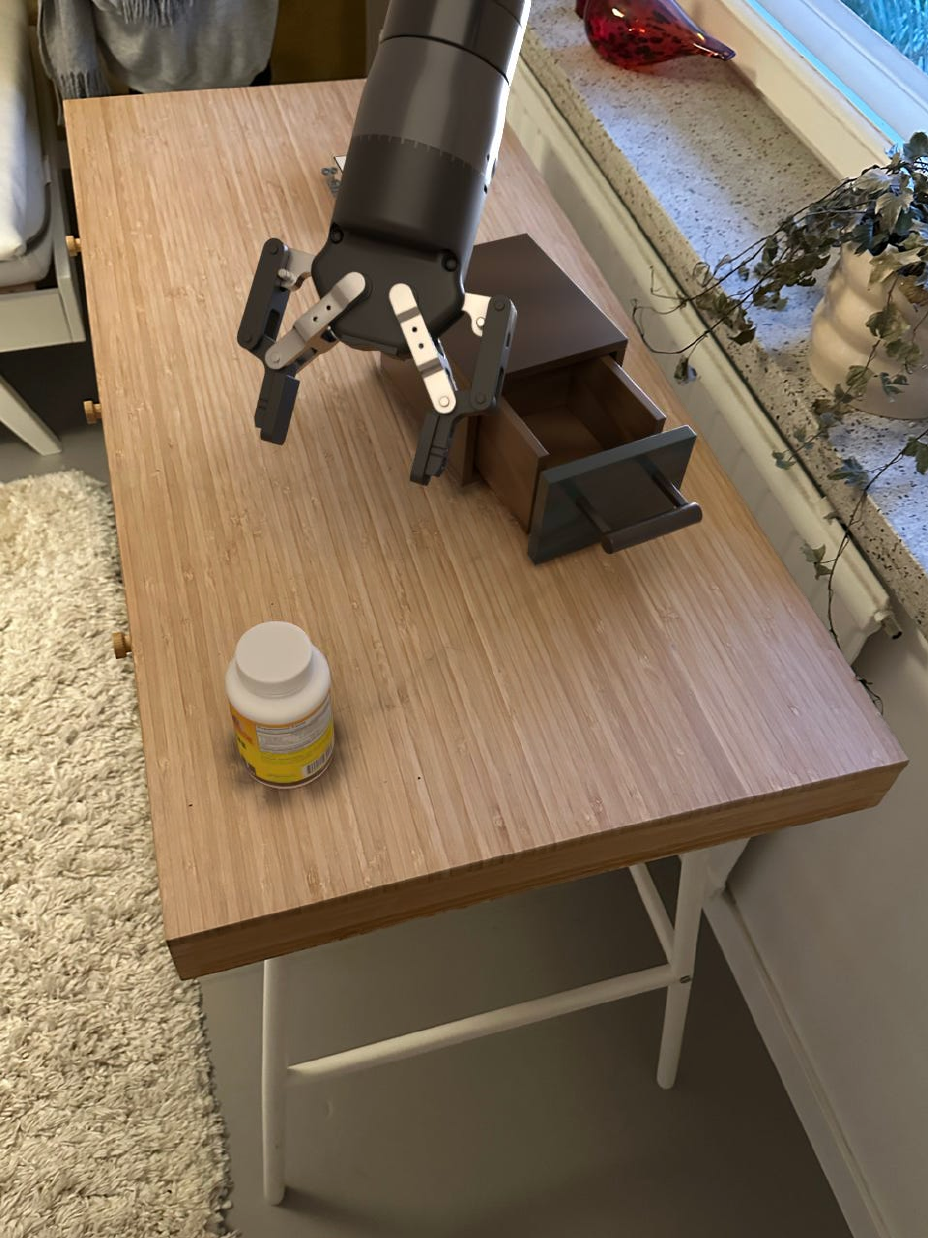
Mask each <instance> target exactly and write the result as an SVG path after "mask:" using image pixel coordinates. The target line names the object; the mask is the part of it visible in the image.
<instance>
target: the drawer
mask: <svg viewBox="0 0 928 1238" xmlns="http://www.w3.org/2000/svg"><path fill="white" fill-rule="evenodd" d="M666 421H667V415H665V414H664V413H663V412H662V411H661V410H660V408H658V407H657V405H656V404H655V403H654V402H653V401H652V399H650V398H649V397H648V396H647V394H646V393H645V392H643V390H642V389H641V388H640V387H639V386H638V385H637V384H636V382H634V380H633V379H632V378H631V377H630V376H629V375H628V374H627V373H626V372H625V370H623V368H622V369H621V368H620V367H619V365H618V364H617V363H616V362H615V361H614V360H613V359H612V358H611V357H610V356H609V355H608V354H604V355H601V356H597V357H594V358H590V359H587V360H583V361H580V362H576V363H572V364H569V365H565V366H562V367H558V368H555V369H551V370H548V371H544V372H541V373H537V374H534V375H530V376H527V377H523V378H520V379H516V380H513V381H509V382H506V383H503V386H502V391H501V396H500V401H499V406H498V409H497V411H496V412H495V413H494V414H492V415H490V416H485V415H478V416H477V427H476V437H475V448H474V458H473V463H474V464H475V466H476V467H477V468H478V470H479V471H480V473H481V474H482V475H483V477H484V478H485V479H486V480H485V481H486V483H487V484H488V485H489V486H490V488H491V489H492V491H493V492H494V493H495V495H496V496H497V497H498V498H499V500H500V501H501V503H502V504H503V506H504V507H505V508H506V509H507V511H508V512H509V514H510V515H511V516H512V518H513V519H514V521H515V522H516V523H517V525H518V526H519V527H520V529H521V530H522V532H523V533H524V534H525V536H528V535H529V537H528V544H527V548H526V549H527V550H526V555H527V557H528V559H529V560H530V561H531V562H532V564H533V565H534V566H539V565H541V564H543V563H544V564H545V563H546V562H550V561H552V560H555V559H558V558H561V557H564V556H566V555H569V554H573V553H574V552H577V551H580V550H583V549H586V548H589V547H592V546H594V545H598V544H600V545H601V548H602V550H603V552H605V554H607V555H610V556H611V555H613V554H617V553H619V552H622V551H624V550H627V549H630V548H633V547H635V546H638V545H641V544H644V543H646V542H649V541H652V540H655V539H657V538H661V537H663V536H666V535H669V534H671V533H674V532H677V531H680V530H682V529H685V528H688V527H691V526H694V525H696V524H699V523H701V522H702V520H703V516H704V515H703V510H702V507H701V506H700V505H699V503H697V502H695V501H691V502H688V501H687V499H686V498H685V497H684V496H683V495H682V494H681V493H680V491H681V487H682V486H683V481H684V478H685V475H686V472H687V469H688V466H689V462H690V459H691V456H692V453H693V451H694V447H695V444H696V440H697V437H698V435H697V434H696V432H695V431H694V430H693V429H692V428H691V427H690V425H688V424H685V425H681V426H679V427H675V428H673V429H669V430H666V431H664V429H665V428H664V427H665V424H666ZM663 431H664V432H663Z"/></svg>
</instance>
